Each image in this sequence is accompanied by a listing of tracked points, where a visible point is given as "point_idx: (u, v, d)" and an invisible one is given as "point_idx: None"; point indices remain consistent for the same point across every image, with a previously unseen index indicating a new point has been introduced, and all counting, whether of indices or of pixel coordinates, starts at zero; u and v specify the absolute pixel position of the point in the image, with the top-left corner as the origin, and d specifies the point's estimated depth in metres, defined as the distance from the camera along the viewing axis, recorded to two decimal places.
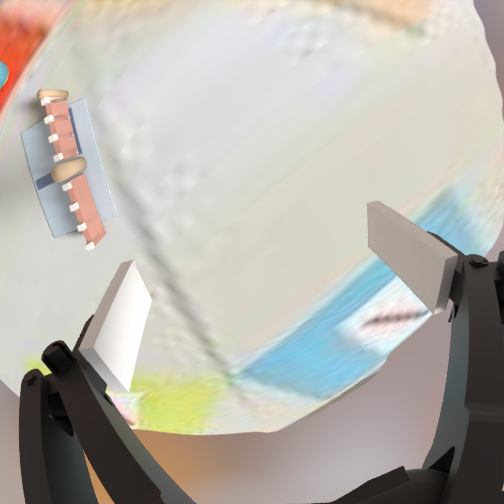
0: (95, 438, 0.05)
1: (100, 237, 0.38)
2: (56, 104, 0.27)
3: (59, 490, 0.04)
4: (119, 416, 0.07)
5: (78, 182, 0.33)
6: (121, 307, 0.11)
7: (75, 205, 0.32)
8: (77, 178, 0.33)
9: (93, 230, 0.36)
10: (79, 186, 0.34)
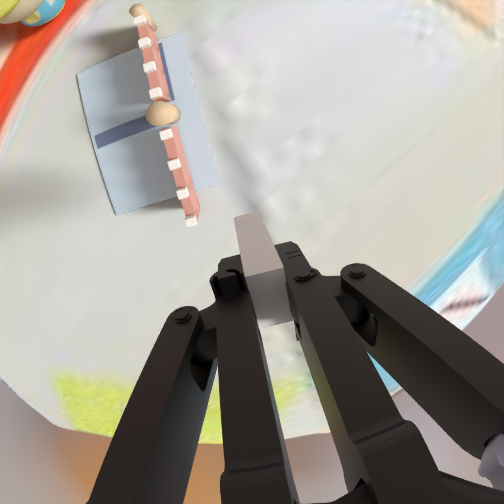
0: (239, 379, 0.06)
1: (198, 211, 0.31)
2: (150, 30, 0.20)
3: (160, 455, 0.05)
4: (266, 361, 0.09)
5: (175, 133, 0.26)
6: None
7: (178, 161, 0.25)
8: (174, 128, 0.26)
9: (193, 200, 0.29)
10: (177, 139, 0.27)
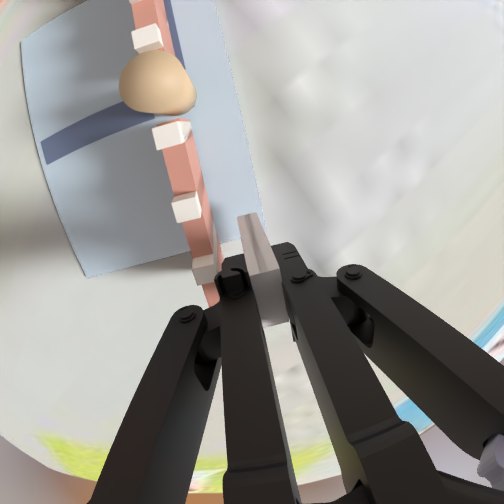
0: (243, 379, 0.06)
1: None
2: None
3: (163, 455, 0.05)
4: (269, 361, 0.09)
5: (188, 134, 0.12)
6: None
7: (196, 202, 0.11)
8: (185, 123, 0.12)
9: None
10: (190, 146, 0.13)
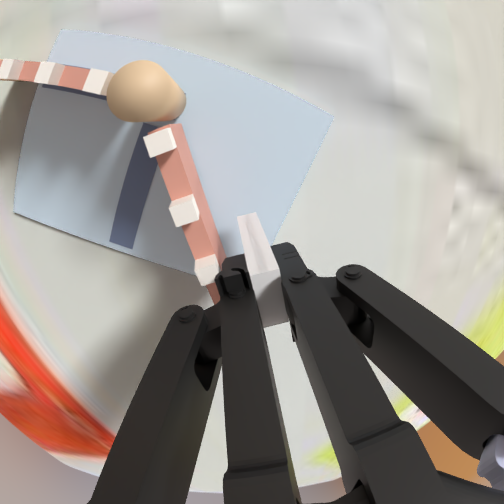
0: (243, 378, 0.06)
1: None
2: None
3: (163, 455, 0.05)
4: (270, 360, 0.09)
5: (180, 139, 0.13)
6: None
7: (193, 205, 0.11)
8: (177, 127, 0.12)
9: None
10: (184, 150, 0.13)
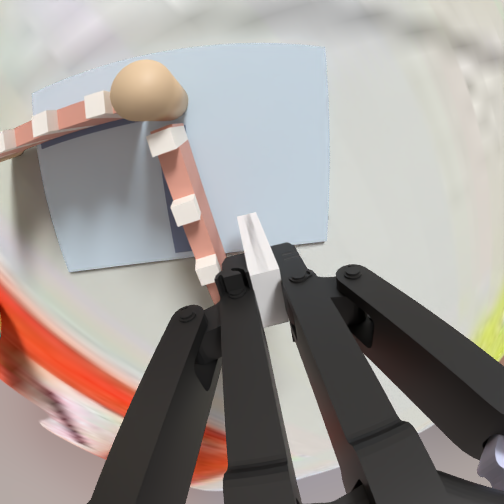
0: (243, 378, 0.06)
1: None
2: None
3: (163, 455, 0.05)
4: (270, 361, 0.09)
5: (182, 139, 0.13)
6: None
7: (195, 204, 0.11)
8: (179, 127, 0.12)
9: None
10: (185, 150, 0.13)
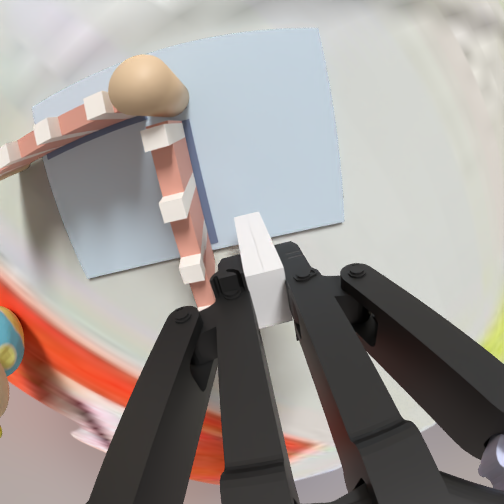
0: (239, 379, 0.06)
1: None
2: None
3: (160, 455, 0.05)
4: (266, 361, 0.09)
5: (178, 136, 0.13)
6: None
7: (183, 202, 0.11)
8: (176, 124, 0.12)
9: (210, 273, 0.15)
10: (180, 148, 0.13)
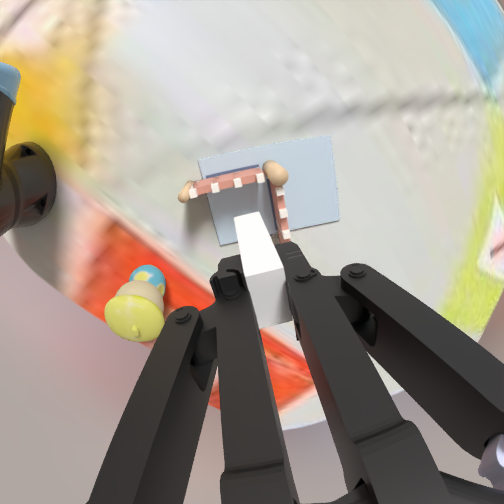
0: (239, 379, 0.06)
1: None
2: (199, 184, 0.36)
3: (160, 455, 0.05)
4: (266, 361, 0.09)
5: None
6: None
7: (287, 212, 0.36)
8: None
9: None
10: None
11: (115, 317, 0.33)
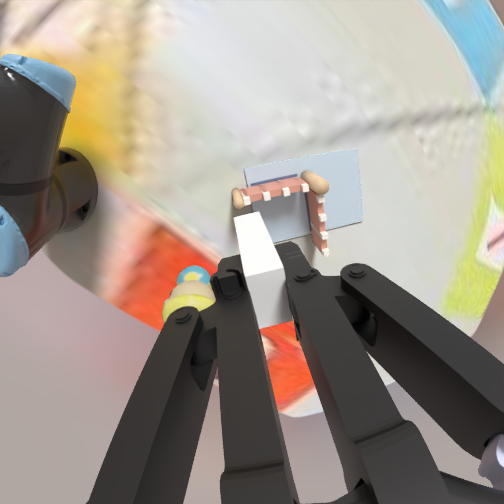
0: (239, 379, 0.06)
1: None
2: (249, 192, 0.41)
3: (160, 455, 0.05)
4: (266, 361, 0.09)
5: None
6: None
7: (325, 216, 0.42)
8: None
9: None
10: None
11: None
